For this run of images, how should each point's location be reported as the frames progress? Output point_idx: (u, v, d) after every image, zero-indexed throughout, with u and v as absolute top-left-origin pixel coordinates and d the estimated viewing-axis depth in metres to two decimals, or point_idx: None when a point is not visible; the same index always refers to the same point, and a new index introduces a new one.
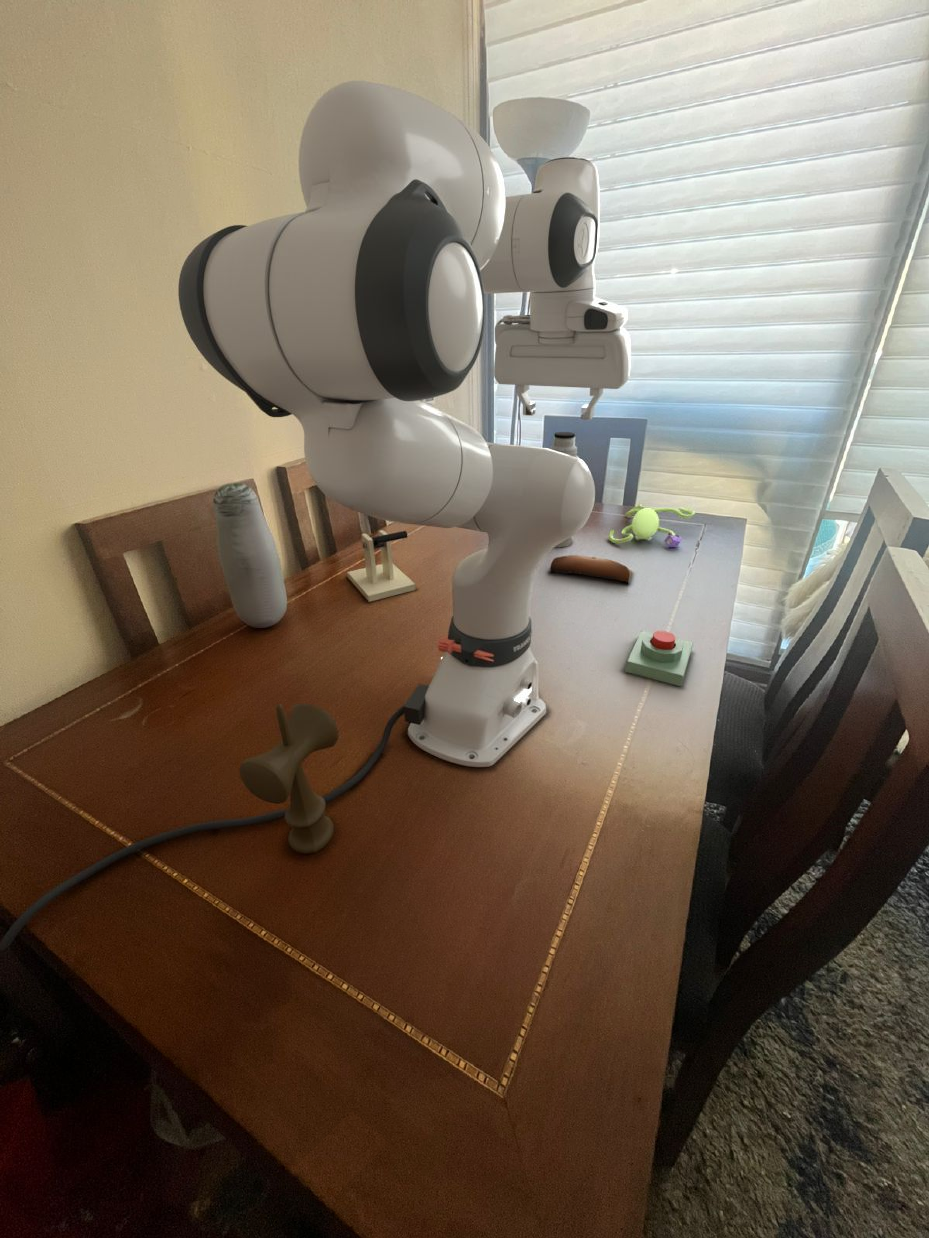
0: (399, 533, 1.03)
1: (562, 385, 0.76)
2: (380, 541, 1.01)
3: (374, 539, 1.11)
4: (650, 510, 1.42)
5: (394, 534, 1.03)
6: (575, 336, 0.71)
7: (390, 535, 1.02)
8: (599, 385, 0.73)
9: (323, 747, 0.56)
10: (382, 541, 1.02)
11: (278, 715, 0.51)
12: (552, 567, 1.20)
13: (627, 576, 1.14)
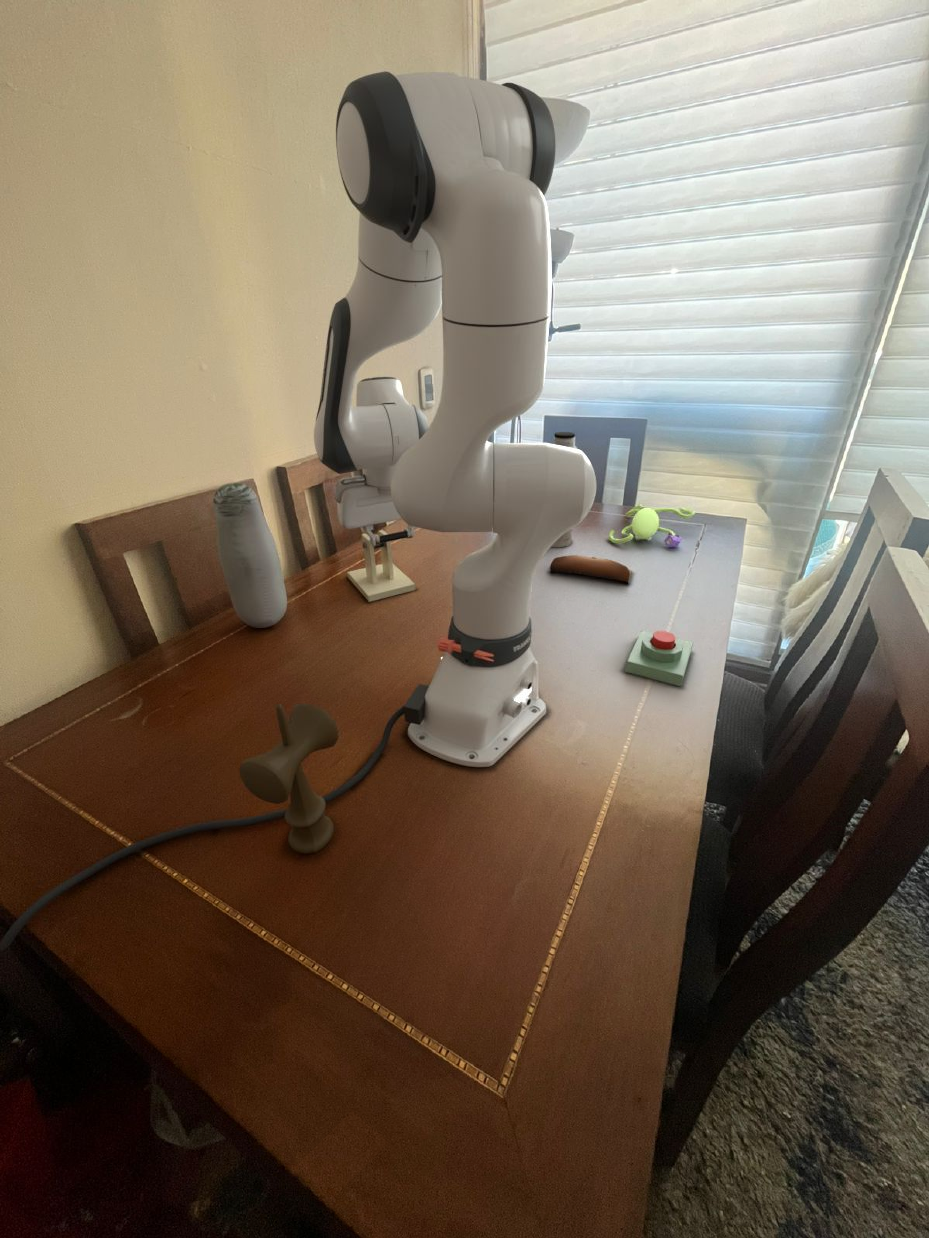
0: (399, 533, 1.03)
1: (399, 518, 1.00)
2: (380, 541, 1.01)
3: None
4: (650, 510, 1.42)
5: (394, 534, 1.03)
6: None
7: (390, 535, 1.02)
8: None
9: (323, 747, 0.56)
10: (382, 541, 1.02)
11: (278, 715, 0.51)
12: (552, 567, 1.20)
13: (627, 576, 1.14)
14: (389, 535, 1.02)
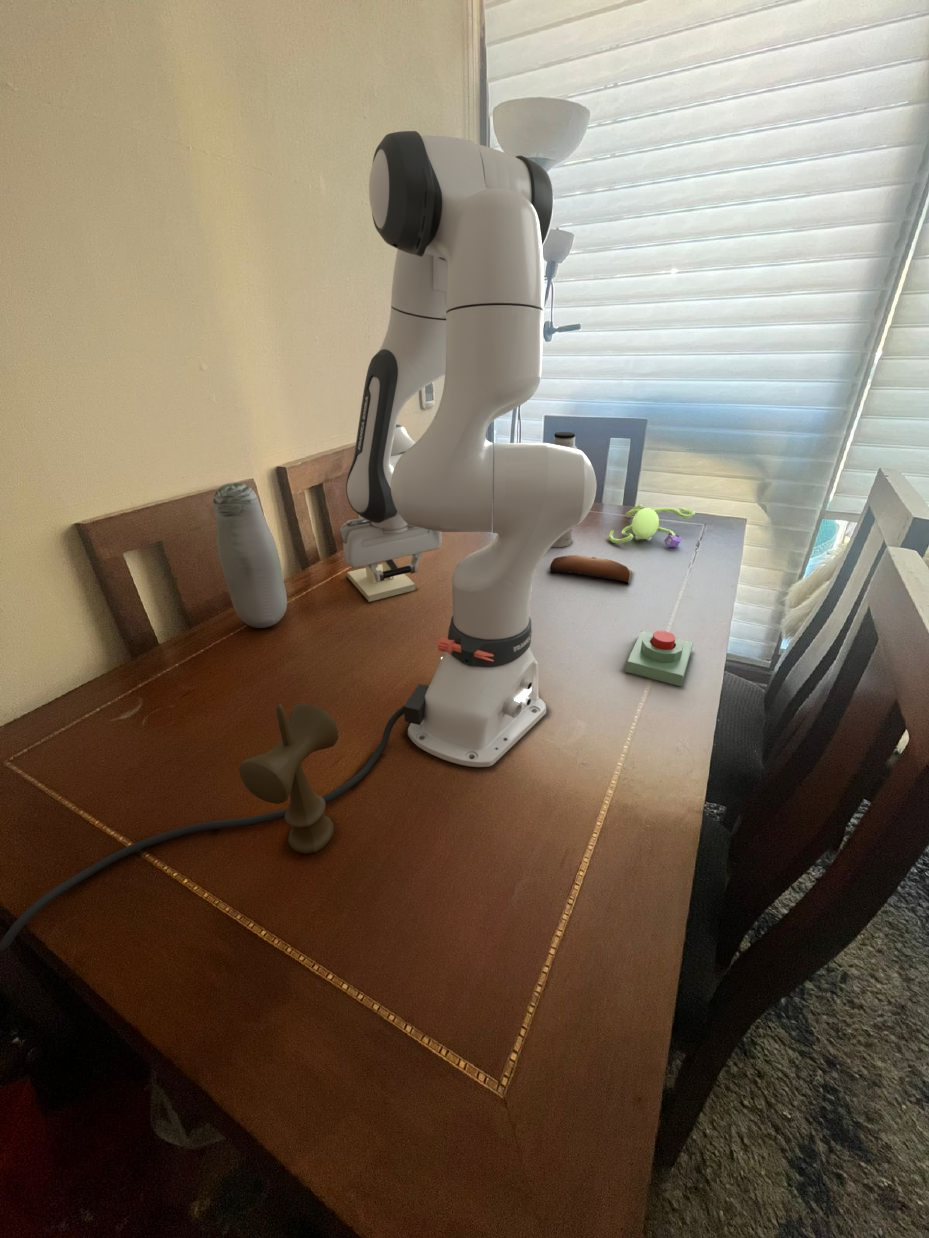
0: (404, 570, 1.06)
1: (403, 556, 1.04)
2: None
3: None
4: (650, 510, 1.42)
5: (399, 571, 1.06)
6: (408, 524, 1.01)
7: (395, 572, 1.05)
8: (428, 549, 1.06)
9: (323, 747, 0.56)
10: (386, 577, 1.05)
11: (278, 715, 0.51)
12: (552, 567, 1.20)
13: (627, 576, 1.14)
14: (394, 572, 1.05)
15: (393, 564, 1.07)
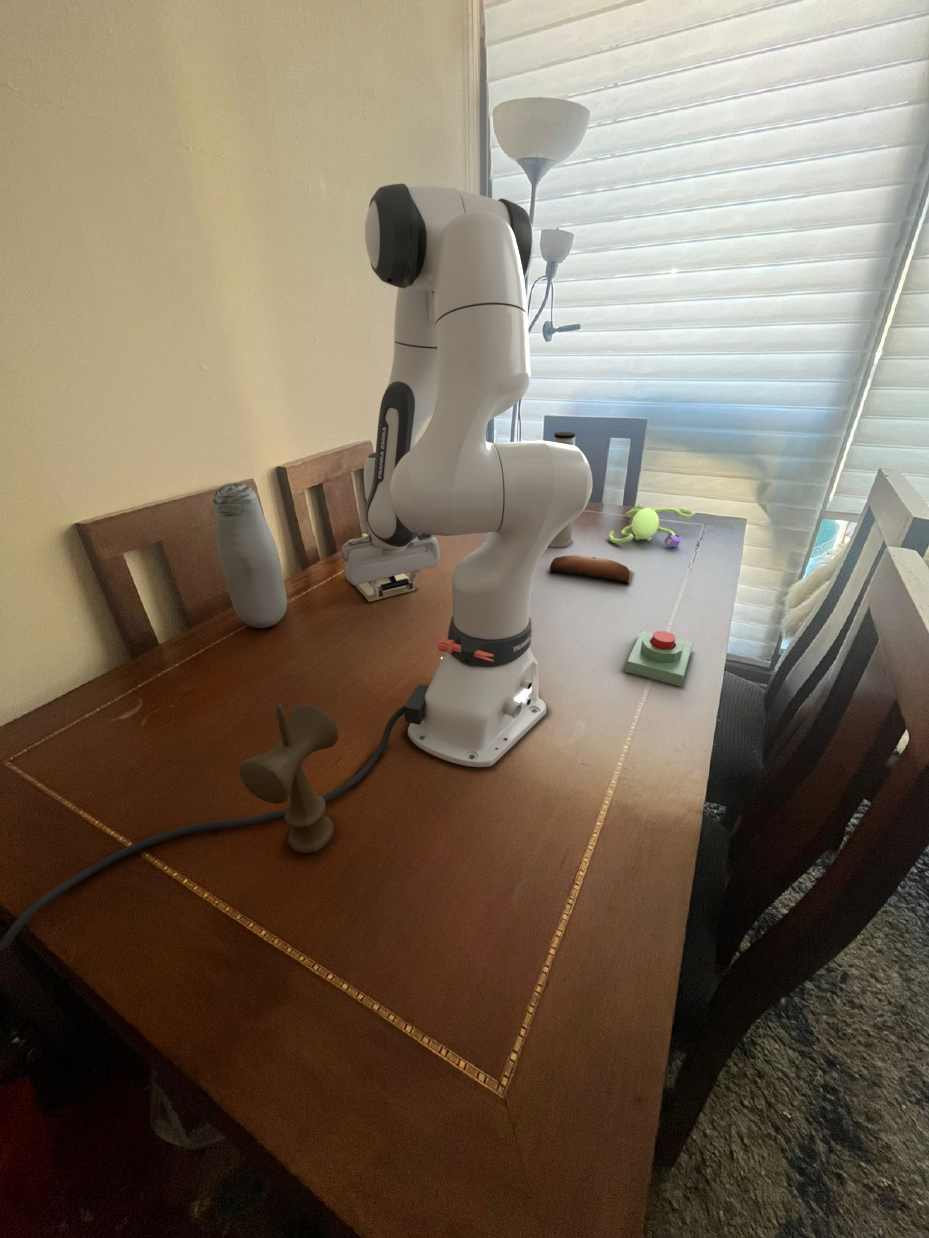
0: (402, 584, 1.09)
1: (401, 573, 1.07)
2: (383, 590, 1.08)
3: None
4: (650, 510, 1.42)
5: (397, 585, 1.09)
6: (408, 544, 1.04)
7: (393, 586, 1.09)
8: (426, 566, 1.09)
9: (323, 747, 0.56)
10: None
11: (278, 715, 0.51)
12: (552, 567, 1.20)
13: (627, 576, 1.14)
14: (393, 586, 1.09)
15: None
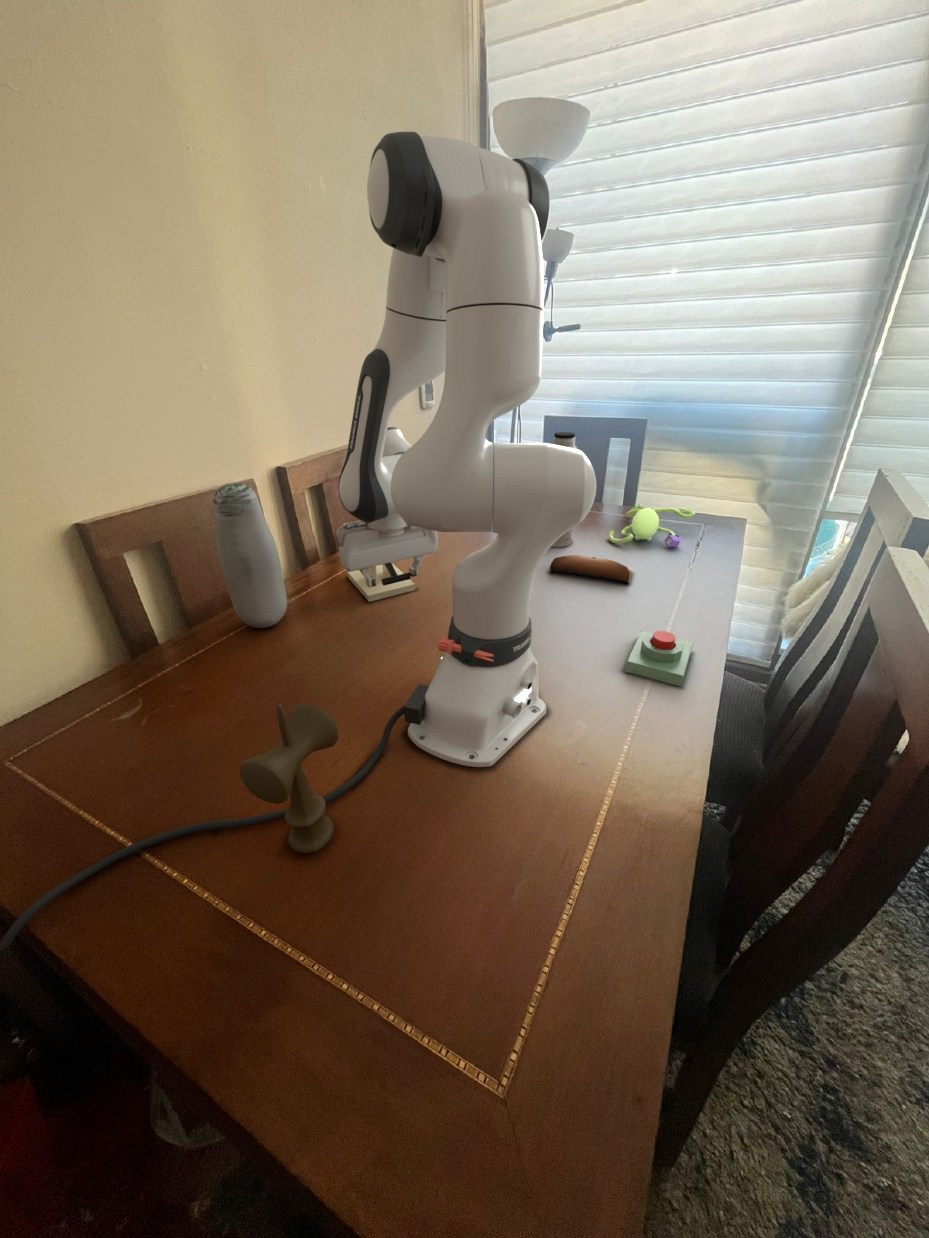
0: (403, 578, 1.08)
1: (399, 559, 1.03)
2: (384, 585, 1.07)
3: None
4: (650, 510, 1.42)
5: (398, 579, 1.07)
6: (405, 527, 1.01)
7: (395, 580, 1.07)
8: (424, 552, 1.06)
9: (323, 747, 0.56)
10: None
11: (278, 715, 0.51)
12: (552, 567, 1.20)
13: (627, 576, 1.14)
14: (394, 580, 1.07)
15: (393, 570, 1.08)
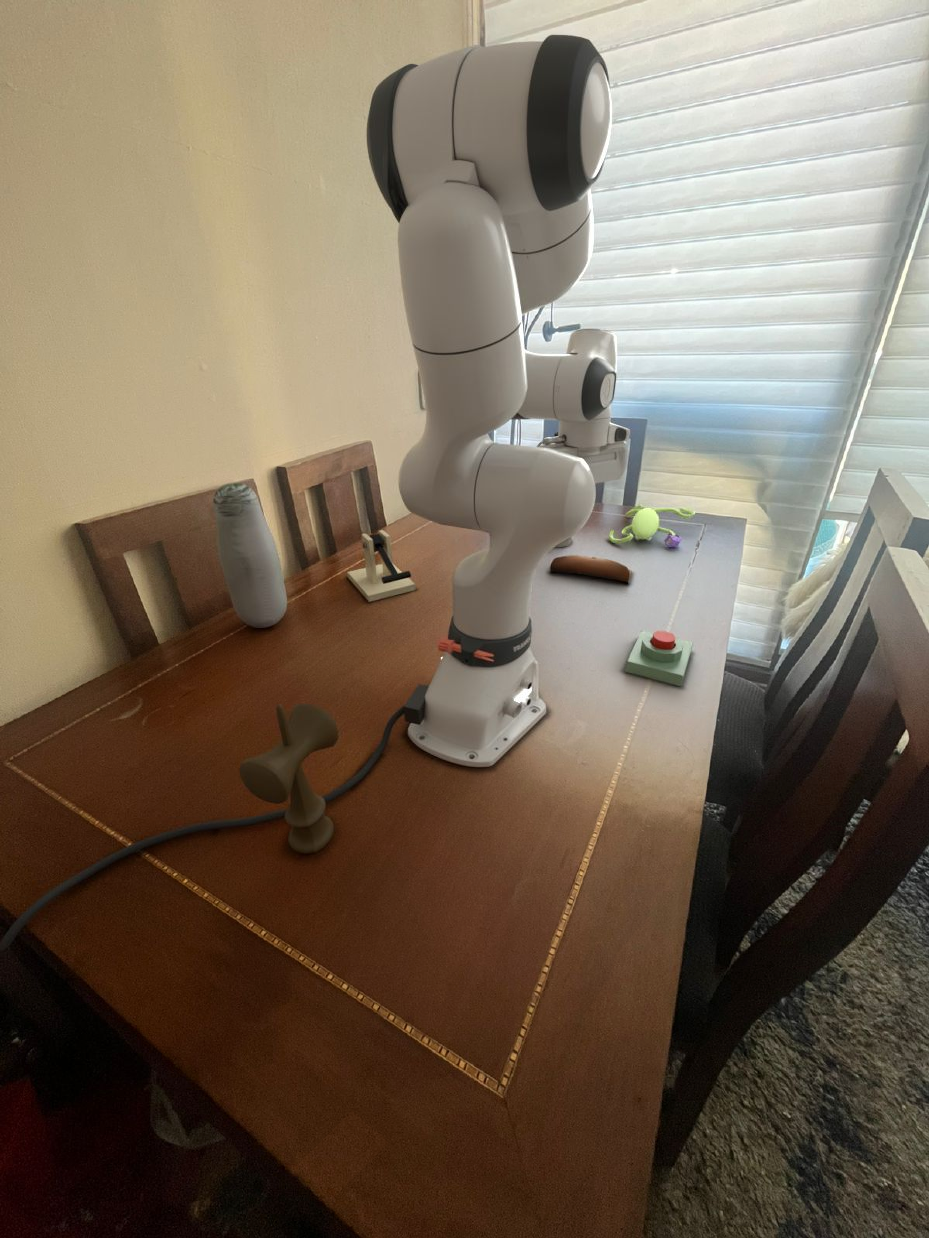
0: (403, 576, 1.07)
1: None
2: (384, 583, 1.06)
3: (376, 545, 1.11)
4: (650, 510, 1.42)
5: (399, 577, 1.07)
6: (600, 447, 0.93)
7: (395, 578, 1.07)
8: (612, 478, 0.98)
9: (323, 747, 0.56)
10: None
11: (278, 715, 0.51)
12: (552, 567, 1.20)
13: (627, 576, 1.14)
14: (394, 578, 1.06)
15: (393, 569, 1.08)
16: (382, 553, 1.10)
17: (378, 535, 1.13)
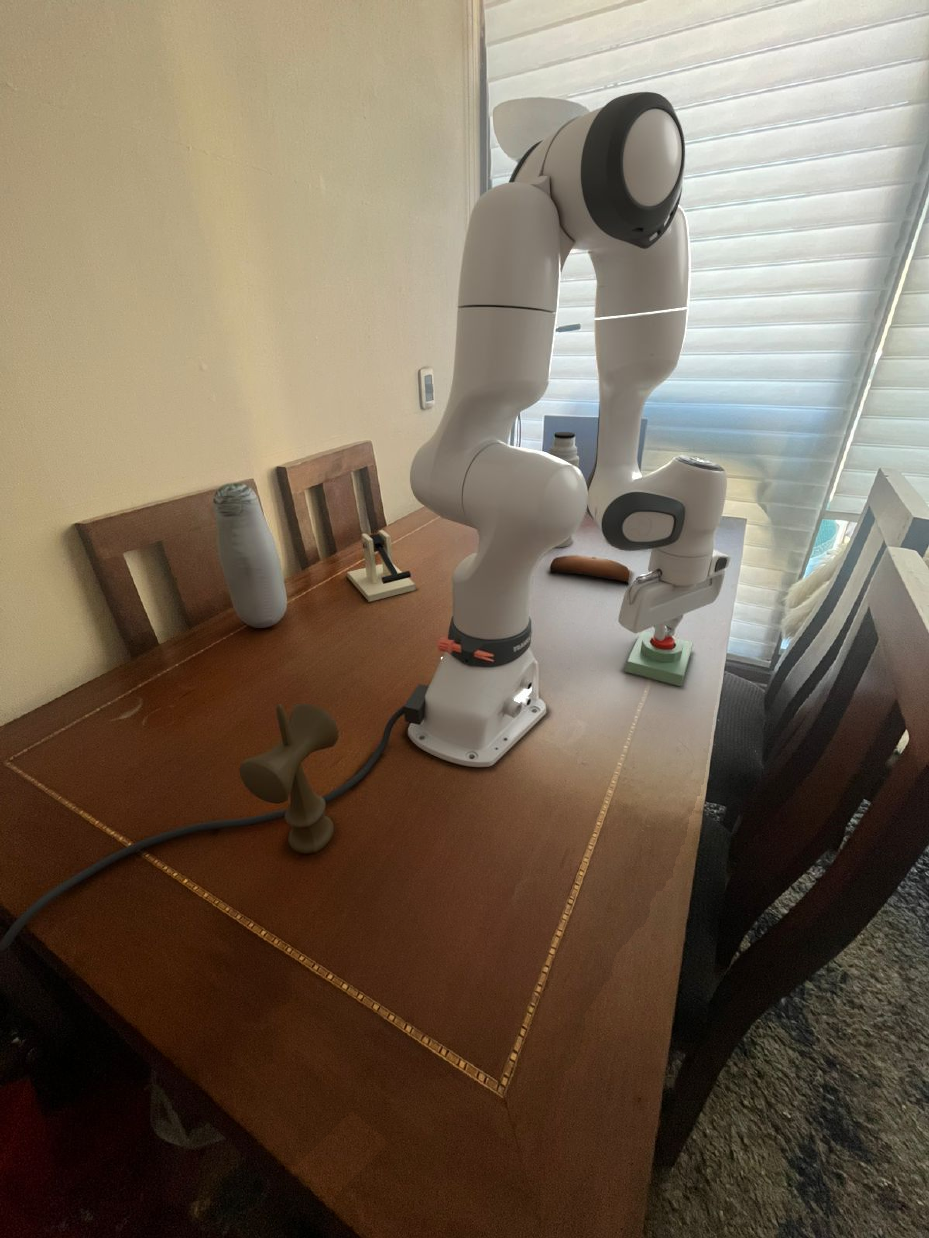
0: (403, 576, 1.07)
1: (681, 614, 0.84)
2: (384, 583, 1.06)
3: (376, 545, 1.11)
4: None
5: (399, 577, 1.07)
6: None
7: (395, 578, 1.07)
8: (705, 604, 0.87)
9: (323, 747, 0.56)
10: None
11: (278, 715, 0.51)
12: (552, 567, 1.20)
13: (627, 576, 1.14)
14: (394, 578, 1.06)
15: (393, 569, 1.08)
16: (382, 553, 1.10)
17: (378, 535, 1.13)
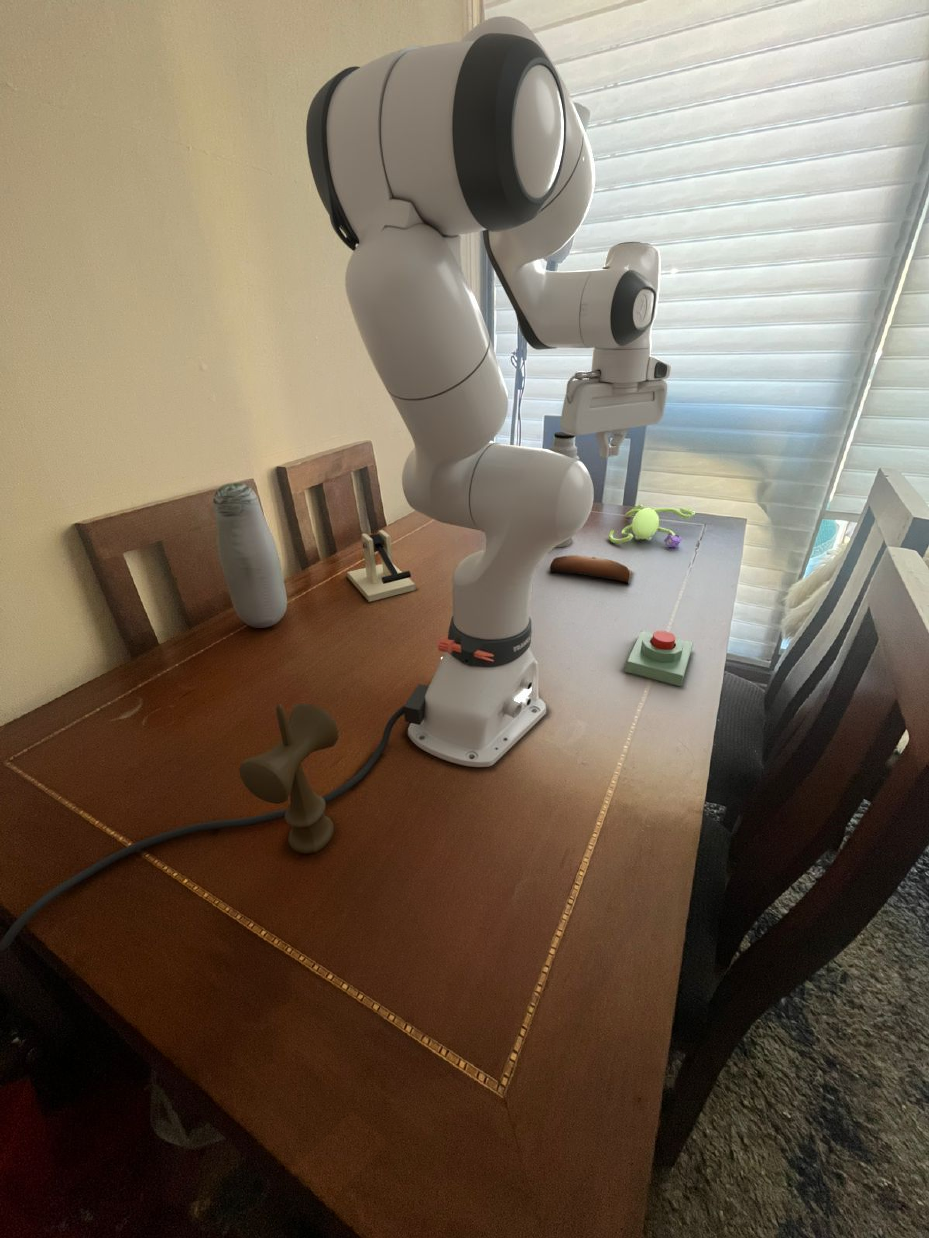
0: (403, 576, 1.07)
1: (624, 427, 0.86)
2: (384, 583, 1.06)
3: (376, 545, 1.11)
4: (650, 510, 1.42)
5: (399, 577, 1.07)
6: (638, 385, 0.84)
7: (395, 578, 1.07)
8: (649, 422, 0.89)
9: (323, 747, 0.56)
10: None
11: (278, 715, 0.51)
12: (552, 567, 1.20)
13: (627, 576, 1.14)
14: (394, 578, 1.06)
15: (393, 569, 1.08)
16: (382, 553, 1.10)
17: (378, 535, 1.13)
